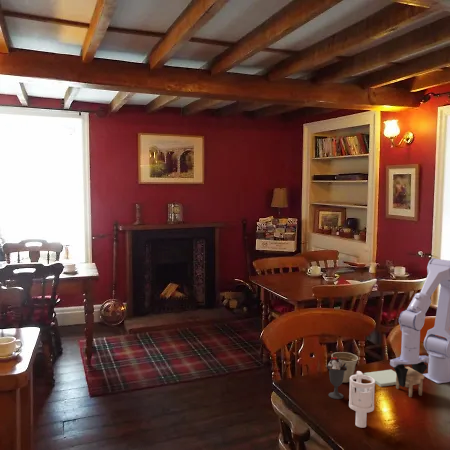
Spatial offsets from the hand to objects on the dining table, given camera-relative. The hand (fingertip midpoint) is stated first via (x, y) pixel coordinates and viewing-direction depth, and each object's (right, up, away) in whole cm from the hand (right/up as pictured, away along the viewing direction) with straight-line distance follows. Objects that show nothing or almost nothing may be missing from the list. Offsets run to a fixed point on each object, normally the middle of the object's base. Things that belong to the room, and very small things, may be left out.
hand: (408, 384), depth 157 cm
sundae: (-26, -3, -4) cm, 26 cm away
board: (-4, -2, +10) cm, 11 cm away
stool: (0, -2, 0) cm, 2 cm away
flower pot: (-20, -2, +10) cm, 22 cm away
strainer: (-23, -4, -23) cm, 33 cm away
